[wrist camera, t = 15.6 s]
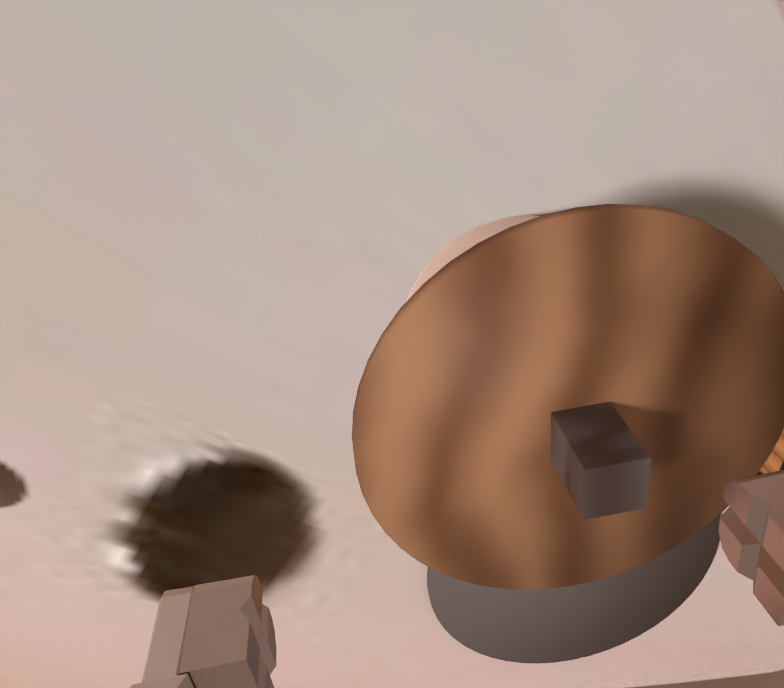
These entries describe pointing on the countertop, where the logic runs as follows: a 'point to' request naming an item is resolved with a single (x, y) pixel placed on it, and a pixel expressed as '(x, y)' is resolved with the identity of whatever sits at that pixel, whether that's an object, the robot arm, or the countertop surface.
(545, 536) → the lid
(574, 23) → the countertop surface
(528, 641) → the mat
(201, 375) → the countertop surface
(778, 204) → the countertop surface
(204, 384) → the countertop surface
